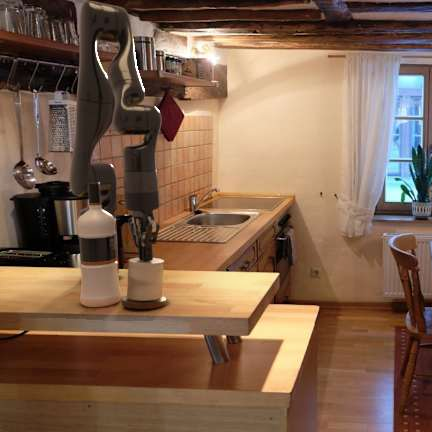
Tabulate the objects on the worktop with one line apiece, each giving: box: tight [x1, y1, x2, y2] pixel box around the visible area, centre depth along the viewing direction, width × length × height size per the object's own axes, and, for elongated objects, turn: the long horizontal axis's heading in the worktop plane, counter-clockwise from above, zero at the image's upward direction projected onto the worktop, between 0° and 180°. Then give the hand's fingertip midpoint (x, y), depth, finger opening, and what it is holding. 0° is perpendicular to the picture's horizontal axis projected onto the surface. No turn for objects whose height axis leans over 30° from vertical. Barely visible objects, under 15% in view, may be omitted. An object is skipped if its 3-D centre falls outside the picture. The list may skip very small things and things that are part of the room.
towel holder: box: [121, 257, 167, 310], centre depth 137 cm, size 10×16×10 cm
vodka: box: [76, 182, 123, 308], centre depth 137 cm, size 9×9×30 cm
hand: (145, 259), depth 137 cm, fingers closed on towel holder
